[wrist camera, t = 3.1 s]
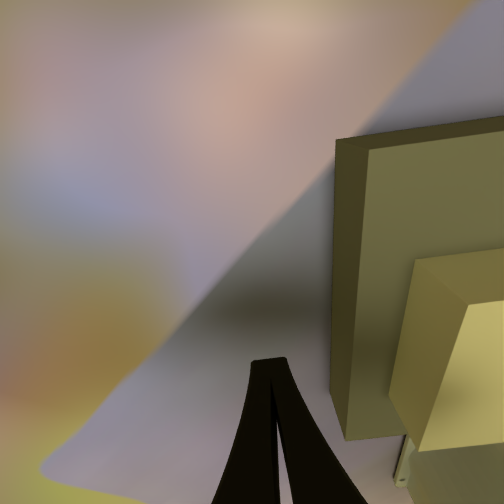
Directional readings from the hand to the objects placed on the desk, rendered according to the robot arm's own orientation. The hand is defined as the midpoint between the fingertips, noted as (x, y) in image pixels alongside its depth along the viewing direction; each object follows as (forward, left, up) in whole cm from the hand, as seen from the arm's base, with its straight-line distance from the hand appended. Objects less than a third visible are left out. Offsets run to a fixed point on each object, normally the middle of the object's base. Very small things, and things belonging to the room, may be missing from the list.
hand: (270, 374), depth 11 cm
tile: (0, -9, 0) cm, 9 cm away
